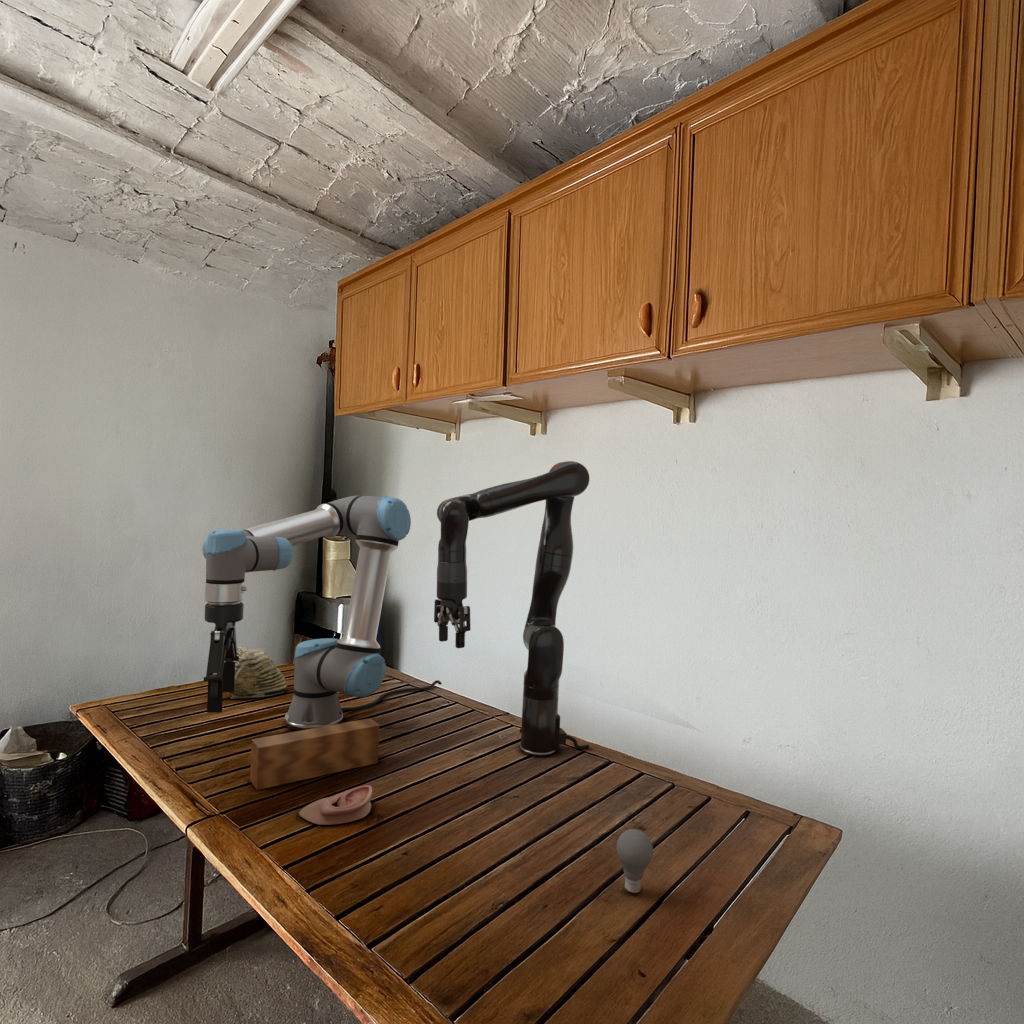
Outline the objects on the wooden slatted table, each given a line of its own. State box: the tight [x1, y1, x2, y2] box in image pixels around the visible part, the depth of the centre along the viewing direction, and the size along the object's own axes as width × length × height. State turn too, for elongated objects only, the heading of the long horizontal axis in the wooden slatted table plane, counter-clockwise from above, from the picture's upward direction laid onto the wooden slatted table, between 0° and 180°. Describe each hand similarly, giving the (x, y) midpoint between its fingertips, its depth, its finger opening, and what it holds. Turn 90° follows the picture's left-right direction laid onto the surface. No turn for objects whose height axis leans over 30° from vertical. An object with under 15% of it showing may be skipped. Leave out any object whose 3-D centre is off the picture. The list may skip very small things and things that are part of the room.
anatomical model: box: [298, 784, 373, 826], centre depth 127 cm, size 13×4×12 cm
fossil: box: [229, 646, 288, 699], centre depth 198 cm, size 9×18×15 cm, turn 132°
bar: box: [249, 717, 380, 791], centre depth 146 cm, size 28×6×9 cm, turn 126°
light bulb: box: [615, 828, 654, 894], centre depth 106 cm, size 6×6×10 cm
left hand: (221, 701), depth 135 cm, fingers open, 13 cm apart
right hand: (451, 644), depth 157 cm, fingers open, 8 cm apart
